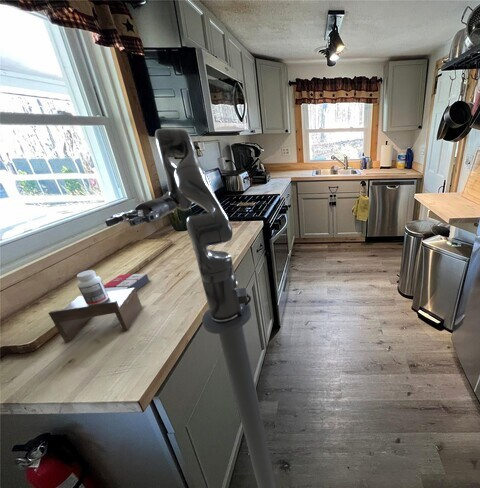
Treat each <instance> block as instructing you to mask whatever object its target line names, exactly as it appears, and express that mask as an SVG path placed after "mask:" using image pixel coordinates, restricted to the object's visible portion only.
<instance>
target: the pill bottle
mask: <svg viewBox="0 0 480 488" xmlns="http://www.w3.org/2000/svg"><path fill="white" fill-rule="evenodd" d="M76 278H77V280H78V282H77V287H78V289H79V291H80V294H81V296H83V298H84V300H85V302H86V304H87V305H93V304H99V303H103V302H105V301H106V300H107V299H108V298H109V296H108V294H107V292H106V289H105V287H104V285H105V284H104V282H103V280H102V278H101V277H100V276H99V275H97V274H96V272H95V270H93V269H89V270H88V269H87V270H84V271H81V272H79V273H78V274H77V275H76Z"/></svg>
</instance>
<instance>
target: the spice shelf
mask: <svg viewBox="0 0 480 488" xmlns="http://www.w3.org/2000/svg"><path fill="white" fill-rule="evenodd" d="M107 294H108V296H109V298H108V299H107V300H106V301H105V302H103V303H99V304H93V305H87V304H86V302H85V300H84V298H83V296H82V295H78V296H76V298H74V299H73V300H72V301H71V302H70V303H69V304H68V305H67V306H66V307H64V308H63V309H57V310H51V311H49V312H48V316H49V317H50V319H51V321H52V322H53V324H54V326H55V328H56V329H57V331H58V333H59V335H60V336H61V338H62V340H63V342H64V343H68V342H70V341H71V340H72V339H73V338H74V337H75V336H76V335H77V334H78V332H80V330H81V329H82V328H83V327H84V326H85V325H86V323H87V322H88V321H89V320H90V319H91V318H94V317H100V316H105V315H112V314H115V316H116V318H117V321H118V323H119V325H120V328H121V329H122V332H127V331H129V329H130V328H131V326H132V324H133V323H134V321H135V319H136V318H137V316H138V315H139V313H140V312H141V310H142V308H143V305H142V303H141V301H140V298H139V295H138V293H137V290H135V288H129V289H122V290H116V291H110V292H107Z"/></svg>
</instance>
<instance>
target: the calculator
mask: <svg viewBox="0 0 480 488" xmlns="http://www.w3.org/2000/svg"><path fill="white" fill-rule="evenodd" d="M149 281H150V279H149V276H148V274H146V273H133V274H131V273H128V274H127V273H126V274H119V275H118V276H116V277H114V278H113V279H111V280H109V281H108V282H106V283H105V284H103V285H104V287H105V289H106V292H110V291H116V290H122V289H129V288H135V290H136V291H138V290H139V289H140V288H142V287H143V286H145V285H146V284H147V283H148V282H149Z"/></svg>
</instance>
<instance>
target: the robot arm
mask: <svg viewBox="0 0 480 488" xmlns="http://www.w3.org/2000/svg"><path fill="white" fill-rule="evenodd" d="M154 139H155V145H156V148H157V152H158V156H159V159H160V162H161V165H162V168H163V171H164V175H165V177H166V178H165V179H166V186H167V190H168V191H166V193H164V194H163V195H162V196H161V197H157V198H153V199H150V200H149V199H148V200H147V201H143V202H141V203H138V204H137V205H136V206H135V208H134V209H133V210H130V211H124V210H123V211H122V212H118V213H116V214H111V215H110V216H109V217H110V218H107V219H106V220H105V225H106V227H113V226H115V225H117V224H122V223H125V224H128V223H129V225H130V227H135V226H137V225H141V224H150V223H153V222H155V221H157V220H160V219H162V218H164V217H165V216H167V215H169V214H171V213H173V212H175V211H176V210H177V209H178V210H180V211H188V210H189V209H190V208H191V207H192V204H194V205H196V206H199V207H200V208H202V209H204V210H205V211H206V212H203V213H196V214H192V215H189V216H188V217H187V218H186V220H185V224H186V225H185V226H186V230H187V233H188V236H189V240H190V241H191V242H190V243H191V246H192V249H193V252H194V254H195V259H196V263H197V267H198V270H199V276H200V279H201V283H202V286H203V290H204V293H205V298H206V301H207V306H208V310H209V309H210V314H211V318H212V320H213V321H214V322H217V323H226V322H230V321H232V320H234V319H236V318H237V317H241V316H242V304H243V303H245V304H244V305H245V306H246V305H247V304H249V303H250V302H251V301H252V297H251V296H250V295H249V293H248V289H247V287H242V288H241V287H240V286H239V283H238V281H237V279H236V274H235V268H234V264H233V258H232V256H231V254H230V253H229V252H226V251H222V250H212V249H209V248H208V247H213V246H217V245H221V244H224V243H228V242H230V241H231V240H232V239H233V236H234V235H233V234H234V232H233V227H232V224H231V221H230V220H229V217H228V215H227V214H226V211H225V210H224V208H223V207H222V205H221V203H220V201H219V200H218V198H217V196H216V194H215V192H214V190H213V189H214V188H213V187H212V184H211V182H210V180H209V177H208V174H207V173H206V171H205V169H204V166H203V165H202V163H201V161H200V159H199V156H198V154H197V150H196V147H195V145H194V141H193V140H192V137H191V134H190V133H189V131H187V129H183V128H157V129H156V130H155V133H154ZM171 158H182V159H180V161H179V162H178V163H177V164H176V163H174V161H173V160H172V159H171ZM127 219H128V220H127ZM239 287H240V288H239Z"/></svg>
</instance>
